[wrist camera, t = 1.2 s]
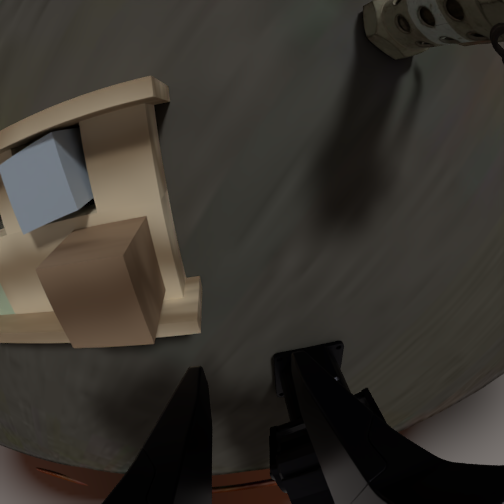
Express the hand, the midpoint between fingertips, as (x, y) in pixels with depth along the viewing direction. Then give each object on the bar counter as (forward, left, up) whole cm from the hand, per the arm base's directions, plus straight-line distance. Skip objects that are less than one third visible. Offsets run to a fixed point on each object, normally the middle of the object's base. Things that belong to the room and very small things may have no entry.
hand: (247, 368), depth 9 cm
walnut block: (0, +7, -10) cm, 12 cm away
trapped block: (+6, +10, -12) cm, 17 cm away
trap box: (+3, +14, -12) cm, 18 cm away
